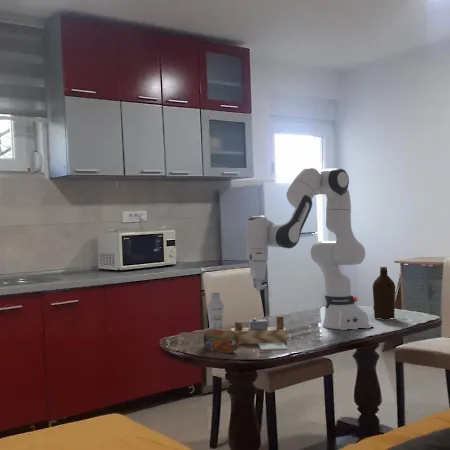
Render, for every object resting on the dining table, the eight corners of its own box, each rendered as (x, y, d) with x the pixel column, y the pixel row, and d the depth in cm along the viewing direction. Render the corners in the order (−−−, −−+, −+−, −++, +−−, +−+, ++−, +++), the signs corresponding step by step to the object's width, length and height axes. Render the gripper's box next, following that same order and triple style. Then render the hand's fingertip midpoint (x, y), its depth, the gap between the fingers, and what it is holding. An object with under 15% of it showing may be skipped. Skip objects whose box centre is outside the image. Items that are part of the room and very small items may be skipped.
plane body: (283, 338, 241) (283, 314, 241) (286, 342, 234) (286, 317, 234) (230, 340, 239) (230, 316, 239) (232, 344, 232) (231, 319, 232)
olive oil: (399, 318, 282) (399, 266, 281) (388, 321, 275) (387, 268, 274) (380, 315, 290) (380, 265, 289) (368, 318, 282) (368, 267, 282)
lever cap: (266, 327, 239) (265, 317, 239) (267, 329, 234) (267, 319, 234) (249, 328, 238) (248, 317, 238) (250, 330, 234) (250, 319, 234)
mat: (282, 343, 231) (282, 342, 231) (287, 349, 221) (287, 347, 221) (257, 344, 230) (257, 343, 230) (261, 350, 220) (261, 348, 220)
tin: (203, 350, 223) (202, 328, 223) (208, 348, 226) (207, 326, 226) (236, 354, 215) (235, 332, 215) (240, 353, 217) (240, 330, 217)
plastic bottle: (228, 341, 237) (227, 292, 236) (216, 344, 231) (215, 294, 231) (216, 339, 241) (215, 291, 240) (205, 342, 236) (204, 293, 235)
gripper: (246, 254, 247) (246, 286, 247) (252, 256, 227) (252, 292, 227) (261, 254, 248) (261, 286, 248) (268, 256, 227) (268, 291, 227)
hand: (257, 289), depth 237 cm, fingers open, 8 cm apart
